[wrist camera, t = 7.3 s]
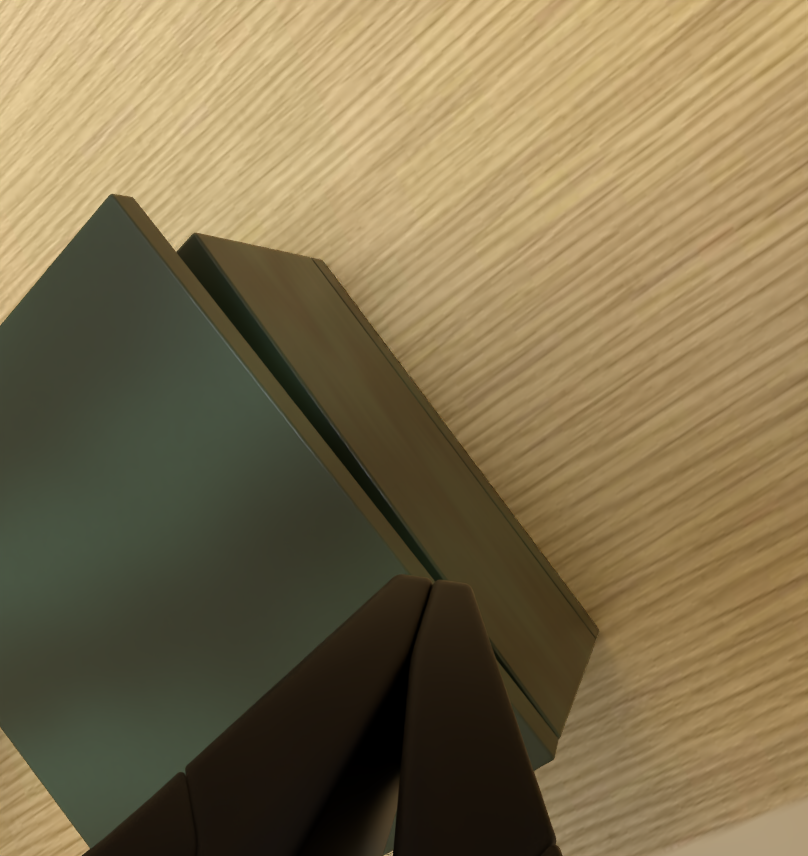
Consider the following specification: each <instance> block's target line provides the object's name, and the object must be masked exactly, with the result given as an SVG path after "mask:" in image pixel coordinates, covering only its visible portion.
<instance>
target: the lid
mask: <svg viewBox="0 0 808 856" xmlns="http://www.w3.org/2000/svg"><path fill="white" fill-rule="evenodd" d="M398 574H405V575H412V576H419V577H426V578H429V579H430V580H431V581H432V583H433V584H434V582H435V581H434V580H433V578H432V577H431V576H430V574H429V573H428V572H427V571H426V569H425V568H424V567H423V566H422V564H421V563H420V562H419V560H418V559H417V558H416V557H415V555H414V554H413V553H412V552H411V550H410V549H409V548H408V546H407V545H406V544H405V543H404V541H403V540H402V539H401V538H400V536H399V535H398V534H397V532H396V531H395V530H394V529H393V527H392V526H391V525H390V524H389V522H388V521H387V520H386V519H385V517H384V516H383V515H382V513H381V512H380V511H379V510H378V508H377V507H376V506H375V505H374V503H373V502H372V501H371V499H370V498H369V497H368V496H367V494H366V493H365V492H364V491H363V489H362V488H361V487H360V485H359V484H358V483H357V482H356V480H355V479H354V478H353V477H352V475H351V474H350V473H349V471H348V470H347V469H346V468H345V466H344V465H343V464H342V463H341V461H340V460H339V459H338V457H337V456H336V455H335V454H334V452H333V451H332V450H331V449H330V447H329V446H328V445H327V443H326V442H325V441H324V440H323V438H322V437H321V436H320V435H319V433H318V432H317V431H316V429H315V428H314V427H313V426H312V424H311V423H310V422H309V421H308V419H307V418H306V417H305V415H304V414H303V413H302V412H301V410H300V409H299V408H298V407H297V405H296V404H295V403H294V401H293V400H292V399H291V398H290V396H289V395H288V394H287V393H286V391H285V390H284V389H283V387H282V386H281V385H280V384H279V382H278V381H277V380H276V379H275V377H274V376H273V375H272V373H271V372H270V371H269V370H268V368H267V367H266V366H265V365H264V363H263V362H262V361H261V360H260V358H259V357H258V356H257V354H256V353H255V352H254V351H253V349H252V348H251V347H250V346H249V344H248V343H247V342H246V340H245V339H244V338H243V337H242V335H241V334H240V333H239V332H238V330H237V329H236V328H235V326H234V325H233V324H232V323H231V321H230V320H229V319H228V318H227V316H226V315H225V314H224V312H223V311H222V310H221V309H220V307H219V306H218V305H217V304H216V302H215V301H214V300H213V298H212V297H211V296H210V295H209V293H208V292H207V291H206V290H205V288H204V287H203V286H202V284H201V283H200V282H199V281H198V279H197V278H196V277H195V276H194V274H193V273H192V272H191V270H190V269H189V268H188V267H187V265H186V264H185V263H184V262H183V260H182V259H181V258H180V256H179V255H178V254H177V253H176V251H175V250H174V249H173V248H172V246H171V245H170V244H169V242H168V241H167V240H166V239H165V237H164V236H163V235H162V234H161V232H160V231H159V230H158V228H157V227H156V226H155V225H154V223H153V222H152V221H151V220H150V218H149V217H148V216H147V214H146V213H145V212H144V211H143V209H142V208H141V207H140V206H139V204H138V203H137V202H136V201H135V199H134V198H133V197H129V196H122V195H116V194H111V195H109V196H108V198H107V199H106V200H105V201H104V202H103V203H102V205H101V206H100V207H99V208H98V209H97V211H96V212H95V213H94V214H93V215H92V217H91V218H90V219H89V220H88V221H87V223H86V224H85V225H84V226H83V227H82V229H81V230H80V231H79V232H78V233H77V235H76V236H75V237H74V238H73V239H72V241H71V242H70V243H69V244H68V245H67V247H66V248H65V249H64V250H63V251H62V253H61V254H60V255H59V256H58V257H57V258H56V260H55V261H54V262H53V263H52V264H51V266H50V267H49V268H48V269H47V270H46V272H45V273H44V274H43V275H42V276H41V278H40V279H39V280H38V281H37V282H36V284H35V285H34V286H33V287H32V288H31V290H30V291H29V292H28V293H27V294H26V296H25V297H24V298H23V299H22V300H21V302H20V303H19V304H18V305H17V306H16V307H15V309H14V310H13V311H12V312H11V313H10V315H9V316H8V317H7V318H6V319H5V321H4V322H3V323H2V324H1V325H0V727H1V729H2V730H3V731H4V733H5V734H6V735H7V737H8V738H9V739H10V741H11V742H12V743H13V745H14V746H15V748H16V749H17V750H18V752H19V753H20V754H21V756H22V757H23V758H24V760H25V761H26V762H27V764H28V765H29V766H30V768H31V769H32V771H33V772H34V773H35V775H36V776H37V777H38V779H39V780H40V781H41V783H42V784H43V785H44V787H45V788H46V789H47V791H48V792H49V794H50V795H51V796H52V798H53V799H54V800H55V802H56V803H57V804H58V806H59V807H60V808H61V810H62V811H63V812H64V814H65V815H66V816H67V818H68V819H69V821H70V822H71V823H72V825H73V826H74V827H75V829H76V830H77V831H78V833H79V834H80V835H81V837H82V838H83V839H84V841H85V842H86V844H87V845H88V846H89V848H90V849H91V848H92V847H93V846H95V845H96V844H97V843H98V842H100V841H101V840H102V839H103V838H105V837H106V836H107V835H108V834H109V833H110V832H112V831H113V830H114V829H115V828H116V827H117V826H118V825H120V824H121V823H122V822H123V821H124V820H125V819H127V818H128V817H129V816H130V815H131V814H132V813H133V812H135V811H136V810H137V809H138V808H139V807H140V806H142V805H143V804H144V803H145V802H146V801H147V800H149V799H150V798H151V797H152V796H153V795H154V794H155V793H156V792H157V791H158V790H160V789H161V788H162V787H163V786H164V785H165V784H166V783H167V782H168V781H169V780H171V779H172V778H173V777H174V776H175V775H176V774H177V773H178V772H184V773H185V767H186V765H188V764H189V763H190V762H191V761H192V760H193V759H194V758H195V757H196V756H197V755H198V754H200V753H201V752H202V751H203V750H204V749H205V748H206V747H207V746H208V745H209V744H211V743H212V742H213V741H214V740H215V739H216V738H217V737H218V736H219V735H220V734H222V733H223V732H224V731H225V730H226V729H227V728H228V727H229V726H230V725H231V724H233V723H234V722H235V721H236V720H237V719H238V718H239V717H240V716H241V715H242V714H244V713H245V712H246V711H247V710H248V709H249V708H250V707H251V706H252V705H253V704H254V703H256V702H257V701H258V700H259V699H260V698H261V697H262V696H263V695H264V694H265V693H267V692H268V691H269V690H270V689H271V688H272V687H273V686H274V685H275V684H276V683H278V682H279V681H280V680H281V679H282V678H283V677H284V676H285V675H286V674H287V673H289V672H290V671H291V670H292V669H293V668H294V667H295V666H296V665H297V664H298V663H300V662H301V661H302V660H303V659H304V658H305V657H306V656H307V655H308V654H309V653H310V652H312V651H313V650H314V649H315V648H316V647H317V646H318V645H319V644H320V643H321V642H323V641H324V640H325V639H326V638H327V637H328V636H329V635H330V634H331V633H332V632H334V631H335V630H336V629H337V628H338V627H339V626H340V625H341V624H342V623H343V622H345V621H346V620H347V619H348V618H349V617H350V616H351V615H352V614H353V613H354V612H356V611H357V610H358V609H359V608H360V607H361V606H362V605H363V604H364V603H365V602H366V601H368V600H369V599H370V598H371V597H372V596H373V595H374V594H375V593H376V592H377V591H379V590H380V589H381V588H382V587H383V586H384V585H385V584H386V583H387V582H388V581H390V580H391V579H392V578H393V577H394V576H396V575H398ZM496 661H497V660H496ZM497 664H498V667H499V670H500V673H501V676H502V679H503V682H504V685H505V687H506V690H507V693H508V696H509V699H510V702H511V705H512V708H513V711H514V714H515V717H516V720H517V723H518V726H519V729H520V732H521V735H522V738H523V741H524V744H525V747H526V750H527V753H528V756H529V759H530V762H531V765H532V768H533V771H534V770H536V769H538V768H540V767H541V766H543V765H545V764H547V763H549V762H550V761H552V760H554V758H555V754H556V749H557V744H558V737H557V736H556V735H555V733H554V732H553V731H552V730H551V728H550V727H549V726H548V725H547V723H546V722H545V721H544V719H543V718H542V717H541V716H540V714H539V713H538V712H537V711H536V709H535V708H534V707H533V705H532V704H531V703H530V702H529V700H528V699H527V698H526V697H525V695H524V694H523V693H522V691H521V690H520V689H519V688H518V686H517V685H516V684H515V683H514V681H513V680H512V679H511V678H510V676H509V675H508V674H507V672H506V671H505V670H504V669H503V667H502V666H501V665H500V664H499V662H498V661H497ZM185 775H186V773H185ZM396 814H397V811H396ZM396 814H395V817H394V821H393V824H392V827H391V830H390V834H389V837H388V840H387V843H386V846H385V850H384V853H383V855H385V854H387V853H389V852H391V851H392V850H393V849H394V838H395V826H396Z"/></svg>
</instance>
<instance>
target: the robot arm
mask: <svg viewBox="0 0 808 856" xmlns="http://www.w3.org/2000/svg"><path fill="white" fill-rule="evenodd" d="M185 773H186V775H185ZM185 773H184V772H178V773H177V774H176V775H175V776H174V777H173V778H172V779H171V780H169V781H168V782H167V783H166V784H165V785H164V786H163V787H162V788H161V789H160V790H158V791H157V792H156V793H155V794H154V795H153V796H152V797H151V798H150V799H149V800H147V801H146V802H145V803H144V804H143V805H142V806H140V807H139V808H138V809H137V810H136V811H135V812H133V813H132V814H131V815H130V816H129V817H128V818H127V819H125V820H124V821H123V822H122V823H121V824H120V825H118V826H117V827H116V828H115V829H114V830H113V831H112V832H110V833H109V834H108V835H107V836H106V837H105V838H103V839H102V840H101V841H100V842H98V843H97V844H96V845H95V846H93V847H92V848H91V849H90V850H88V851H87V852H86V853H84V854H83V855H82V856H383V853H384V850H385V846H386V843H387V840H388V837H389V834H390V830H391V827H392V824H393V821H394V817H395V814H396V811H397V814H396V826H395V838H394V849H393V856H562V853H561V850H560V848H559V847H558V846H557V845H556V836H555V833H554V830H553V827H552V824H551V822H550V819H549V816H548V813H547V810H546V807H545V804H544V801H543V798H542V795H541V792H540V789H539V786H538V783H537V780H536V777H535V774H534V771H533V768H532V765H531V762H530V759H529V756H528V753H527V750H526V747H525V744H524V741H523V738H522V735H521V732H520V729H519V726H518V723H517V720H516V717H515V714H514V711H513V708H512V705H511V702H510V699H509V696H508V693H507V690H506V687H505V685H504V682H503V679H502V676H501V673H500V670H499V667H498V664H497V661H496V658H495V655H494V652H493V649H492V646H491V643H490V640H489V637H488V634H487V631H486V628H485V625H484V622H483V619H482V616H481V613H480V610H479V607H478V604H477V601H476V598H475V595H474V592H473V589H472V588H471V586H470V585H469V584H467V583H461V582H454V581H447V580H437V581H435V582H434V584H433V583H432V581H431V580H430V579H429V578H426V577H419V576H412V575H405V574H398V575H396V576H394V577H393V578H392V579H391V580H390V581H388V582H387V583H386V584H385V585H384V586H383V587H382V588H381V589H380V590H379V591H377V592H376V593H375V594H374V595H373V596H372V597H371V598H370V599H369V600H368V601H366V602H365V603H364V604H363V605H362V606H361V607H360V608H359V609H358V610H357V611H356V612H354V613H353V614H352V615H351V616H350V617H349V618H348V619H347V620H346V621H345V622H343V623H342V624H341V625H340V626H339V627H338V628H337V629H336V630H335V631H334V632H332V633H331V634H330V635H329V636H328V637H327V638H326V639H325V640H324V641H323V642H321V643H320V644H319V645H318V646H317V647H316V648H315V649H314V650H313V651H312V652H310V653H309V654H308V655H307V656H306V657H305V658H304V659H303V660H302V661H301V662H300V663H298V664H297V665H296V666H295V667H294V668H293V669H292V670H291V671H290V672H289V673H287V674H286V675H285V676H284V677H283V678H282V679H281V680H280V681H279V682H278V683H276V684H275V685H274V686H273V687H272V688H271V689H270V690H269V691H268V692H267V693H265V694H264V695H263V696H262V697H261V698H260V699H259V700H258V701H257V702H256V703H254V704H253V705H252V706H251V707H250V708H249V709H248V710H247V711H246V712H245V713H244V714H242V715H241V716H240V717H239V718H238V719H237V720H236V721H235V722H234V723H233V724H231V725H230V726H229V727H228V728H227V729H226V730H225V731H224V732H223V733H222V734H220V735H219V736H218V737H217V738H216V739H215V740H214V741H213V742H212V743H211V744H209V745H208V746H207V747H206V748H205V749H204V750H203V751H202V752H201V753H200V754H198V755H197V756H196V757H195V758H194V759H193V760H192V761H191V762H190V763H189V764H188V765H186V767H185Z"/></svg>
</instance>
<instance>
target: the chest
mask: <svg viewBox="0 0 808 856" xmlns="http://www.w3.org/2000/svg"><path fill="white" fill-rule="evenodd" d="M176 253H177V254H178V255H179V256H180V258H181V259H182V260H183V262H184V263H185V264H186V265H187V267H188V268H189V269H190V270H191V272H192V273H193V274H194V276H195V277H196V278H197V279H198V281H199V282H200V283H201V284H202V286H203V287H204V288H205V290H206V291H207V292H208V293H209V295H210V296H211V297H212V298H213V300H214V301H215V302H216V304H217V305H218V306H219V307H220V309H221V310H222V311H223V312H224V314H225V315H226V316H227V318H228V319H229V320H230V321H231V323H232V324H233V325H234V326H235V328H236V329H237V330H238V332H239V333H240V334H241V335H242V337H243V338H244V339H245V340H246V342H247V343H248V344H249V346H250V347H251V348H252V349H253V351H254V352H255V353H256V354H257V356H258V357H259V358H260V360H261V361H262V362H263V363H264V365H265V366H266V367H267V368H268V370H269V371H270V372H271V373H272V375H273V376H274V377H275V379H276V380H277V381H278V382H279V384H280V385H281V386H282V387H283V389H284V390H285V391H286V393H287V394H288V395H289V396H290V398H291V399H292V400H293V401H294V403H295V404H296V405H297V407H298V408H299V409H300V410H301V412H302V413H303V414H304V415H305V417H306V418H307V419H308V421H309V422H310V423H311V424H312V426H313V427H314V428H315V429H316V431H317V432H318V433H319V435H320V436H321V437H322V438H323V440H324V441H325V442H326V443H327V445H328V446H329V447H330V449H331V450H332V451H333V452H334V454H335V455H336V456H337V457H338V459H339V460H340V461H341V463H342V464H343V465H344V466H345V468H346V469H347V470H348V471H349V473H350V474H351V475H352V477H353V478H354V479H355V480H356V482H357V483H358V484H359V485H360V487H361V488H362V489H363V491H364V492H365V493H366V494H367V496H368V497H369V498H370V499H371V501H372V502H373V503H374V505H375V506H376V507H377V508H378V510H379V511H380V512H381V513H382V515H383V516H384V517H385V519H386V520H387V521H388V522H389V524H390V525H391V526H392V527H393V529H394V530H395V531H396V532H397V534H398V535H399V536H400V538H401V539H402V540H403V541H404V543H405V544H406V545H407V546H408V548H409V549H410V550H411V552H412V553H413V554H414V555H415V557H416V558H417V559H418V560H419V562H420V563H421V564H422V566H423V567H424V568H425V569H426V571H427V572H428V573H429V574H430V576H431V577H432V578H433V580H434V581H437V580H447V581H454V582H461V583H467V584H469V585H470V586H471V588H472V589H473V592H474V595H475V598H476V601H477V604H478V607H479V610H480V613H481V616H482V619H483V622H484V625H485V628H486V631H487V634H488V637H489V640H490V643H491V646H492V649H493V652H494V655H495V658H496V660H497V661H498V662H499V664H500V665H501V666H502V667H503V669H504V670H505V671H506V672H507V674H508V675H509V676H510V678H511V679H512V680H513V681H514V683H515V684H516V685H517V686H518V688H519V689H520V690H521V691H522V693H523V694H524V695H525V697H526V698H527V699H528V700H529V702H530V703H531V704H532V705H533V707H534V708H535V709H536V711H537V712H538V713H539V714H540V716H541V717H542V718H543V719H544V721H545V722H546V723H547V725H548V726H549V727H550V728H551V730H552V731H553V732H554V733H555V735H556V736H557V737H558V739H559V738H560V737H561V734H562V732H563V729H564V726H565V723H566V721H567V718H568V715H569V713H570V710H571V707H572V704H573V702H574V699H575V696H576V694H577V691H578V688H579V685H580V683H581V680H582V677H583V674H584V672H585V669H586V666H587V664H588V661H589V658H590V655H591V653H592V650H593V647H594V645H595V642H596V639H597V636H598V634H599V629H598V628H597V626H596V625H595V624H594V622H593V621H592V620H591V618H590V617H589V616H588V614H587V613H586V612H585V610H584V609H583V608H582V606H581V605H580V604H579V602H578V601H577V600H576V598H575V597H574V596H573V594H572V593H571V592H570V590H569V589H568V588H567V586H566V585H565V584H564V582H563V581H562V580H561V578H560V577H559V576H558V574H557V573H556V572H555V570H554V569H553V568H552V566H551V565H550V564H549V562H548V561H547V560H546V558H545V557H544V556H543V554H542V553H541V552H540V550H539V549H538V548H537V546H536V545H535V544H534V542H533V541H532V540H531V538H530V537H529V536H528V534H527V533H526V532H525V530H524V529H523V528H522V526H521V525H520V524H519V522H518V521H517V520H516V518H515V517H514V516H513V514H512V513H511V512H510V510H509V509H508V508H507V506H506V505H505V504H504V502H503V501H502V500H501V498H500V497H499V496H498V494H497V493H496V492H495V490H494V489H493V488H492V486H491V485H490V484H489V482H488V481H487V480H486V478H485V477H484V476H483V474H482V473H481V472H480V470H479V469H478V468H477V466H476V465H475V464H474V462H473V461H472V460H471V458H470V457H469V456H468V454H467V453H466V452H465V450H464V449H463V448H462V446H461V445H460V444H459V442H458V441H457V440H456V438H455V437H454V436H453V434H452V433H451V432H450V430H449V429H448V428H447V426H446V425H445V424H444V422H443V421H442V420H441V418H440V417H439V416H438V414H437V413H436V412H435V410H434V409H433V408H432V406H431V405H430V404H429V402H428V401H427V400H426V398H425V397H424V396H423V394H422V393H421V391H420V390H419V389H418V387H417V386H416V385H415V383H414V382H413V381H412V379H411V378H410V377H409V375H408V374H407V373H406V371H405V370H404V369H403V367H402V366H401V365H400V363H399V362H398V361H397V359H396V358H395V357H394V355H393V354H392V353H391V351H390V350H389V349H388V347H387V346H386V345H385V343H384V342H383V341H382V339H381V338H380V337H379V335H378V334H377V333H376V331H375V330H374V329H373V327H372V326H371V325H370V323H369V322H368V321H367V319H366V318H365V317H364V315H363V314H362V313H361V311H360V310H359V309H358V307H357V306H356V305H355V303H354V302H353V301H352V299H351V298H350V297H349V295H348V294H347V293H346V291H345V290H344V289H343V287H342V286H341V285H340V283H339V282H338V281H337V279H336V278H335V277H334V275H333V274H332V273H331V271H330V270H329V269H328V267H327V266H326V265H325V263H324V262H323V261H322V260H320V259H315V258H310V257H306V256H302V255H297V254H292V253H288V252H283V251H279V250H274V249H269V248H265V247H260V246H255V245H251V244H246V243H242V242H237V241H232V240H228V239H223V238H218V237H214V236H209V235H205V234H200V233H194V234H192V235H191V237H190V238H189V239H188V240H187V241H186V242H185V243H184V244H183V245H182V246H181V247H180V249H179V250H178V251H177V252H176Z"/></svg>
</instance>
